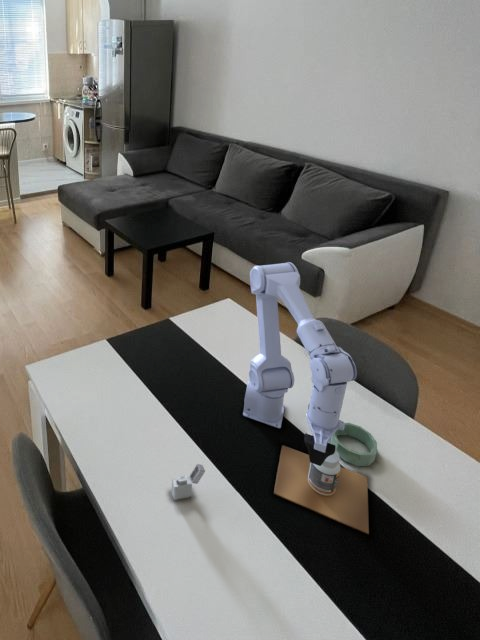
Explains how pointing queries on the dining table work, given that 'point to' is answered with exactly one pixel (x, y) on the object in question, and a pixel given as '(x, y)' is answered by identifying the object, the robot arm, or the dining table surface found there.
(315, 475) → the pill bottle
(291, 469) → the cork mat
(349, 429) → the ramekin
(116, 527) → the dining table surface
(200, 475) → the lighter
